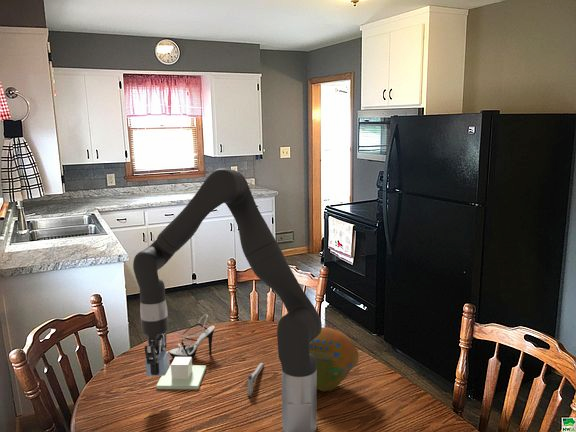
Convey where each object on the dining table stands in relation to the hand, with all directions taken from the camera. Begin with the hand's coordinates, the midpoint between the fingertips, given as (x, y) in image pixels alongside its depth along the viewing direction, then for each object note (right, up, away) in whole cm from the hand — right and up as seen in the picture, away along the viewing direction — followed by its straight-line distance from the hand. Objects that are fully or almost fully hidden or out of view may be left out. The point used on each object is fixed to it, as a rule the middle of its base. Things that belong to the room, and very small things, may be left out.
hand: (158, 369), depth 144 cm
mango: (+50, -8, +7) cm, 51 cm away
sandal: (+5, -5, +29) cm, 29 cm away
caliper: (+28, -8, +12) cm, 32 cm away
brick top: (0, -1, 0) cm, 1 cm away
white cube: (+4, -6, +13) cm, 15 cm away
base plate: (+4, -7, +13) cm, 16 cm away
